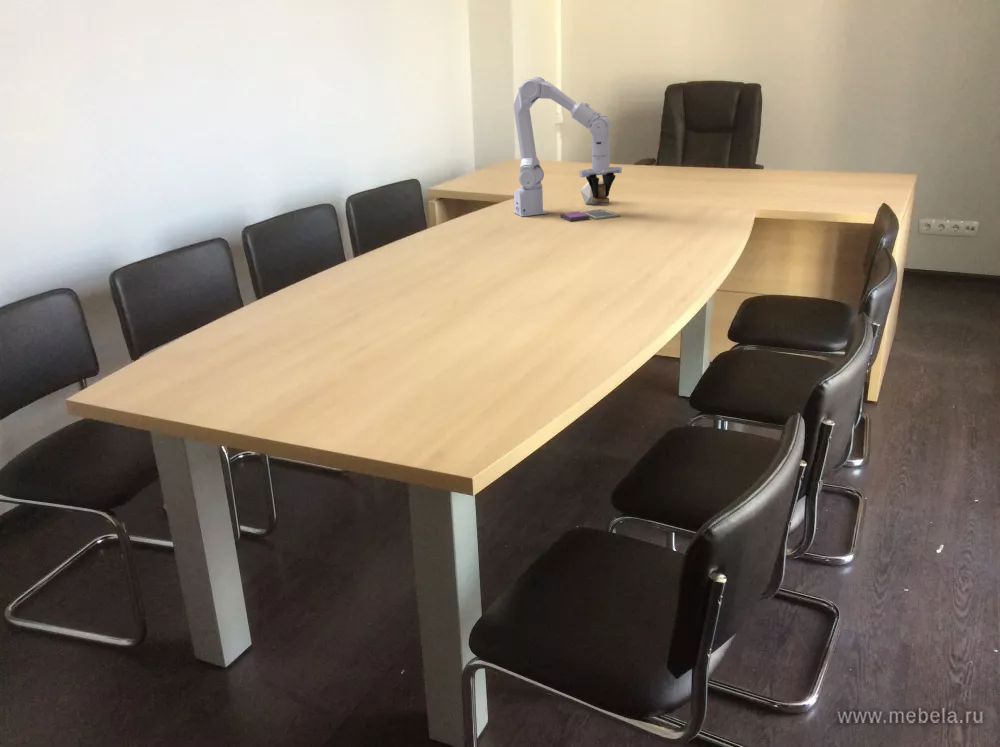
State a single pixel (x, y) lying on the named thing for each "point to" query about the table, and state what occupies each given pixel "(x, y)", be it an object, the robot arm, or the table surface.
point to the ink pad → (574, 216)
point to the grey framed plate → (600, 214)
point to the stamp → (601, 195)
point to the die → (588, 193)
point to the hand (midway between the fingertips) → (600, 197)
